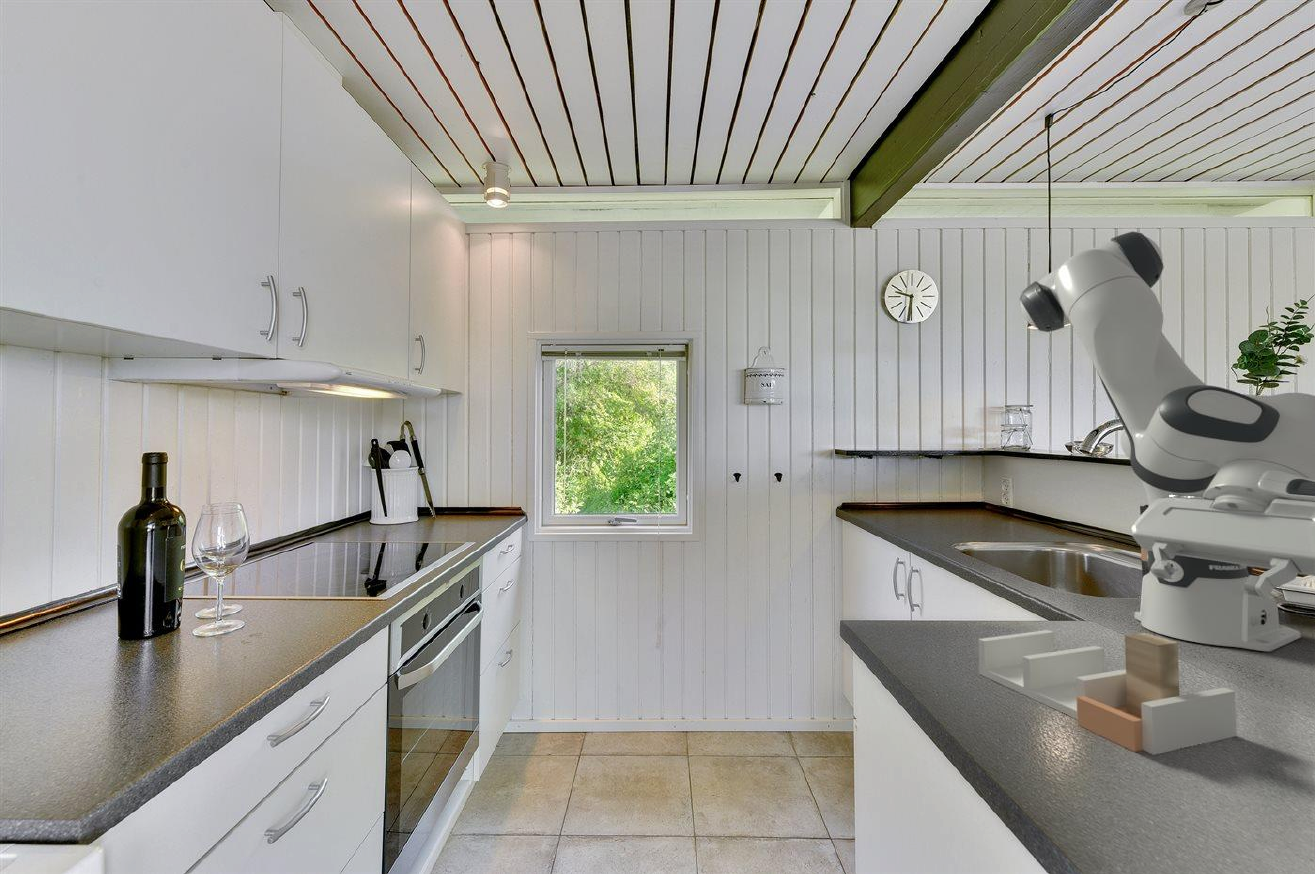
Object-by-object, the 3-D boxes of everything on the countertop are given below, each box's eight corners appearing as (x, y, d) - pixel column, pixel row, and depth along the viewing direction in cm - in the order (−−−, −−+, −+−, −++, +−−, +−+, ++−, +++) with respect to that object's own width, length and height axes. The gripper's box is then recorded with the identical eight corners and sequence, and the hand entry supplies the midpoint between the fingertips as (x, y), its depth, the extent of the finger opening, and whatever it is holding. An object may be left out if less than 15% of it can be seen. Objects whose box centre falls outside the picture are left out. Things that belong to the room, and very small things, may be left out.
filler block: (1145, 708, 66) (1143, 632, 66) (1180, 722, 62) (1177, 642, 62) (1127, 711, 65) (1124, 635, 65) (1161, 726, 61) (1158, 645, 62)
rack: (1048, 663, 82) (1047, 629, 83) (1236, 735, 61) (1234, 690, 61) (972, 674, 79) (971, 639, 79) (1145, 756, 57) (1143, 708, 58)
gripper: (1148, 478, 79) (1100, 551, 76) (1362, 487, 59) (1307, 586, 56) (1172, 508, 80) (1125, 581, 77) (1390, 527, 60) (1337, 625, 57)
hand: (1203, 583), depth 66 cm, fingers open, 8 cm apart
